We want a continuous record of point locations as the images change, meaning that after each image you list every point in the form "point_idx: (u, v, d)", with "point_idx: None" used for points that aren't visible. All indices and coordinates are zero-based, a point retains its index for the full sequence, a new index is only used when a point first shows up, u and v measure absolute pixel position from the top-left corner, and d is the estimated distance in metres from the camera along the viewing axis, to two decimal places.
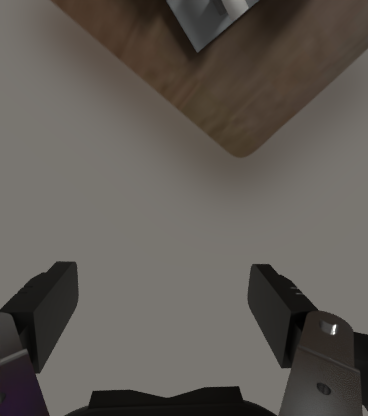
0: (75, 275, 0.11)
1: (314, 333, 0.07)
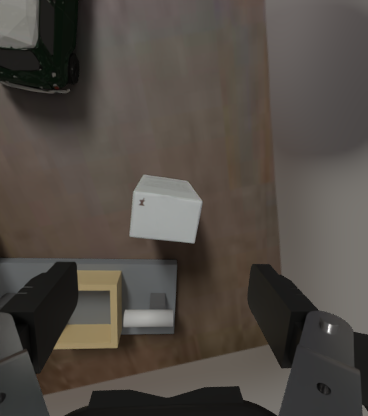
0: (75, 275, 0.11)
1: (314, 333, 0.07)
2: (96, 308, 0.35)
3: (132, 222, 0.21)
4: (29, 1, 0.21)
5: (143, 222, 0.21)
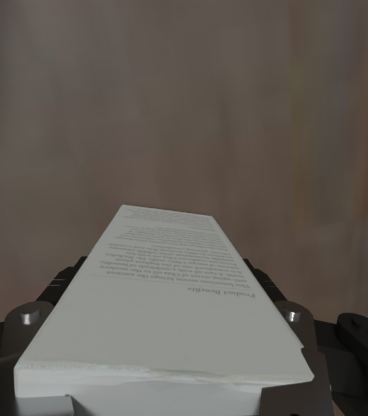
0: None
1: None
2: None
3: None
4: None
5: None
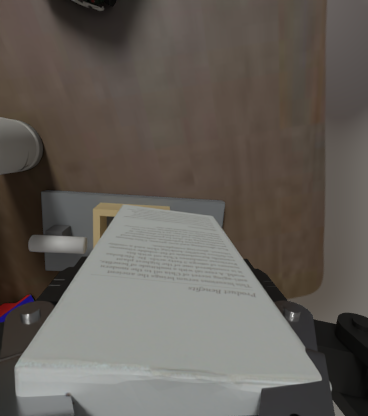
0: None
1: None
2: None
3: None
4: None
5: None
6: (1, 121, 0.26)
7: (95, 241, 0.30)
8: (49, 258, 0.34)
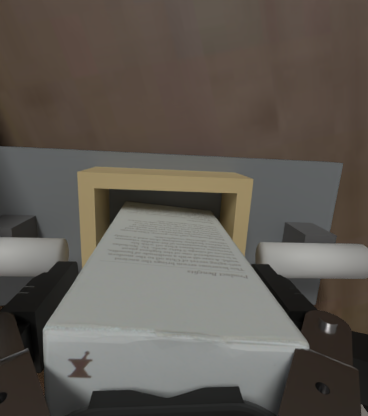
0: (76, 275, 0.11)
1: (312, 332, 0.07)
2: None
3: None
4: None
5: None
6: None
7: (86, 247, 0.13)
8: None
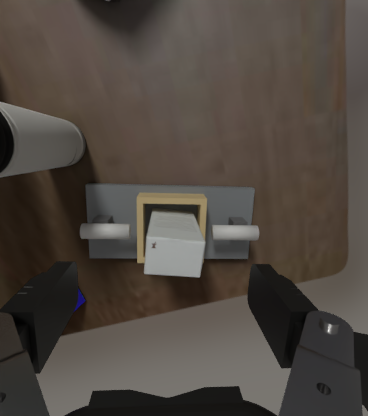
0: (75, 275, 0.11)
1: (314, 333, 0.07)
2: None
3: (146, 262, 0.25)
4: None
5: (155, 262, 0.25)
6: (56, 119, 0.28)
7: (139, 227, 0.33)
8: (93, 246, 0.37)
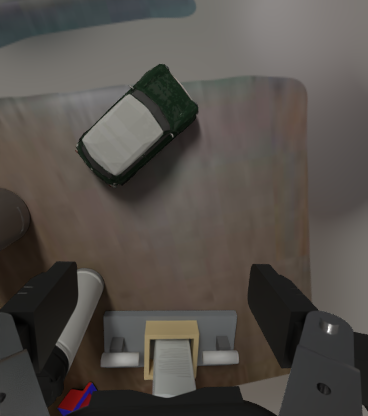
0: (75, 275, 0.11)
1: (314, 333, 0.07)
2: None
3: None
4: (131, 158, 0.32)
5: None
6: (85, 289, 0.38)
7: (146, 355, 0.42)
8: None
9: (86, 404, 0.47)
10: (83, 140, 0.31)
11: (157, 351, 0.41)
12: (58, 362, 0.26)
